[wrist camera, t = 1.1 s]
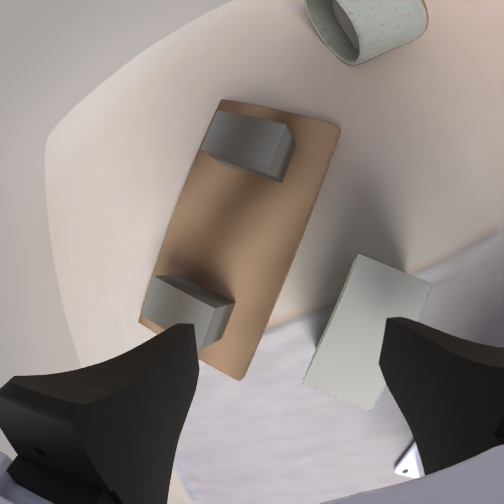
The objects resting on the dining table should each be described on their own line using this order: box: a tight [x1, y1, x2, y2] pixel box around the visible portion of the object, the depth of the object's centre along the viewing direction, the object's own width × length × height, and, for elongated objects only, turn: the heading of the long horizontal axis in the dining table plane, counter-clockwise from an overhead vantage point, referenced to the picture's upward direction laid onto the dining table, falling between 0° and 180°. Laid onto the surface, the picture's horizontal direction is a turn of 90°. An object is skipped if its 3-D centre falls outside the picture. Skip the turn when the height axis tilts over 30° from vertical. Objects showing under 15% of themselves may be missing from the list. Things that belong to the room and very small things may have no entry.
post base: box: [138, 100, 340, 381], centre depth 20 cm, size 10×20×4 cm, turn 158°
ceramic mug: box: [304, 0, 428, 65], centre depth 16 cm, size 11×8×8 cm
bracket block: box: [301, 254, 433, 411], centre depth 16 cm, size 4×7×7 cm, turn 158°
